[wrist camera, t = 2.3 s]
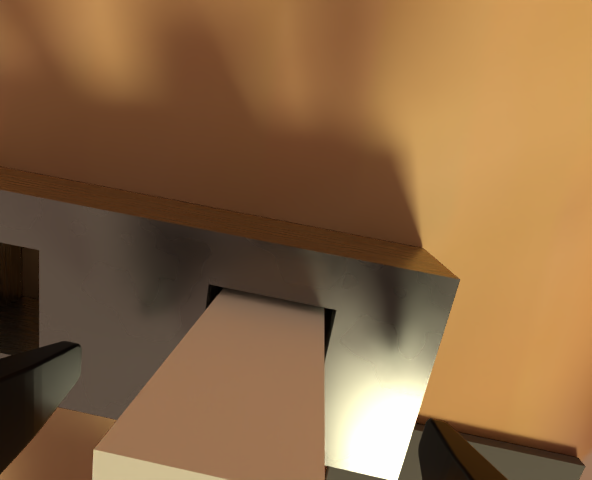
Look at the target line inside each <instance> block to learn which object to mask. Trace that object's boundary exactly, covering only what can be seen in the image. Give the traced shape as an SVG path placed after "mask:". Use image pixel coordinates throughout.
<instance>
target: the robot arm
mask: <svg viewBox="0 0 592 480" xmlns="http://www.w3.org/2000/svg"><path fill="white" fill-rule="evenodd" d="M81 357H82V348H81V345H80V344H78V343H74V342H69V341H61V342H57V343H54V344H50V345H47V346H43V347H39V348H36V349H32V350H29V351H25V352H21V353H18V354H14V355H11V356H7V357H4V358H0V474H1V473H2V472H3V471H4V470H5V469H6V468H7V466H8V465H9V464H10V463H11V462H12V461H13V460H14V459H15V458H16V457H17V455H18V454H19V453H20V452H21V451H22V450H23V449H24V448H25V447H26V446H27V444H28V443H29V442H30V441H31V440H32V439H33V438H34V436H35V435H36V434H37V433H38V431H39V430H40V429H41V428H42V427H43V425H44V424H45V423H46V421H47V420H48V419H49V417H50V416H51V415H52V413H53V412H54V411H55V410H56V408H57V407H58V406H59V404H60V403H61V402H62V400H63V399H64V398H65V397H66V395H67V394H68V393H69V391H70V390H71V389H72V387H73V386H74V385H75V383H76V382H77V381H78V379H79V377H80V373H81ZM418 457H419V463H420V469H421V476H422V480H508V479H507V478H506V477H505V476H504V475H503V474H502V473H501V472H499V471H498V470H497V469H496V468H495V467H494V466H493V465H492V464H491V463H490V462H489V461H488V460H487V459H486V458H484V457H483V456H482V455H481V454H480V453H479V452H478V451H477V450H476V449H475V448H474V447H473V446H472V445H470V444H469V443H468V442H467V441H466V440H465V439H464V438H463V437H462V436H461V435H460V434H459V433H458V432H457V431H455V430H454V429H453V428H452V427H451V426H450V425H449V424H448V423H447V422H445V421H442V420H437V419H432V418H430V419H428V420H427V421H426V424H425V427H424V430H423V433H422V436H421V439H420V442H419V446H418Z"/></svg>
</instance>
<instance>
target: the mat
mask: <svg viewBox="0 0 592 480" xmlns="http://www.w3.org/2000/svg"><path fill="white" fill-rule="evenodd" d="M424 427H425V425H421V424H416V423H415V425H414V428H413V432H412V435H411V438H410V441H409V444H408V448H407V451H406V454H405V457H404V460H403V464H402V467H401V470H400V473H399V476H398V480H422V476H421V469H420V463H419V457H418V446H419V442H420V439H421V436H422V433H423V430H424ZM458 433H459V432H458ZM459 434H460V435H461V436H462V437H463V438H464V439H465V440H466V441H467V442H468V443H469V444H470V445H472V446H473V447H474V448H475V449H476V450H477V451H478V452H479V453H480V454H481V455H482V456H483V457H484V458H486V459H487V460H488V461H489V462H490V463H491V464H492V465H493V466H494V467H495V468H496V469H497V470H498V471H499V472H501V473H502V474H503V475H504V476H505V477H506V478H507V479H508V480H579V479H580V476H581V474H582V472H583V470H584V468H585V465H584V464H583V463H582V462H581V461H580V459H579V458H577V457H572V456H567V455H562V454H558V453H553V452H548V451H544V450H539V449H534V448H529V447H525V446H520V445H515V444H511V443H506V442H501V441H496V440H492V439H487V438H482V437H478V436H473V435H468V434H463V433H459ZM325 480H389V479H385V478H380V477H375V476H371V475H366V474H362V473H357V472H353V471H348V470H344V469H339V468H334V467H330V466H327V470H326V474H325Z"/></svg>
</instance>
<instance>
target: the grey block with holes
mask: <svg viewBox="0 0 592 480" xmlns="http://www.w3.org/2000/svg"><path fill="white" fill-rule="evenodd" d="M21 247H26V248H31V249H36V250H39V300H36V299H31V298H26V297H22V262H21ZM459 282H460V279H459V278H458V277H457V276H455V275H454V274H453V273H452V272H451V271H450V270H448V269H447V268H446V267H445V266H444V265H443V264H441V263H440V262H439V261H438V260H437V259H435V258H434V257H433V256H432V255H431V254H430V253H428V252H427V251H426V250H425V249H424V248H420V247H415V246H410V245H405V244H399V243H394V242H389V241H384V240H379V239H373V238H368V237H363V236H358V235H353V234H347V233H342V232H337V231H332V230H327V229H321V228H316V227H311V226H306V225H301V224H295V223H290V222H285V221H280V220H275V219H269V218H264V217H259V216H254V215H249V214H244V213H238V212H233V211H228V210H223V209H218V208H212V207H207V206H202V205H197V204H192V203H186V202H181V201H176V200H171V199H166V198H160V197H155V196H150V195H145V194H140V193H134V192H129V191H124V190H119V189H114V188H109V187H103V186H98V185H93V184H88V183H83V182H77V181H72V180H67V179H62V178H57V177H51V176H46V175H41V174H36V173H31V172H25V171H20V170H15V169H10V168H5V167H0V358H4V357H7V356H11V355H14V354H18V353H21V352H25V351H29V350H32V349H36V348H39V347H43V346H47V345H50V344H54V343H57V342H61V341H69V342H74V343H78V344H80V345H81V348H82V357H81V373H80V377H79V379H78V381H77V382H76V383H75V385H74V386H73V387H72V389H71V390H70V391H69V393H68V394H67V395H66V397H65V398H64V399H63V400H62V402H61V403H60V404H59V406H58V407H60V408H65V409H69V410H74V411H79V412H83V413H88V414H92V415H97V416H101V417H106V418H111V419H115V420H118V418H119V417H120V416H121V415H122V413H123V412H124V411H125V410H126V408H127V407H128V406H129V405H130V403H131V402H132V401H133V400H134V399H135V397H136V396H137V395H138V394H139V392H140V391H141V390H142V389H143V387H144V386H145V385H146V384H147V382H148V381H149V380H150V379H151V377H152V376H153V375H154V374H155V372H156V371H157V370H158V369H159V367H160V366H161V365H162V364H163V362H164V361H165V360H166V359H167V357H168V356H169V355H170V354H171V353H172V351H173V350H174V349H175V348H176V346H177V345H178V344H179V343H180V341H181V340H182V339H183V338H184V336H185V335H186V334H187V333H188V331H189V330H190V329H191V328H192V326H193V325H194V324H195V323H196V321H197V320H198V319H199V318H200V316H201V315H202V314H203V313H204V312H205V310H206V309H207V308H208V307H209V305H210V304H211V303H212V302H213V300H214V299H215V298H216V297H217V295H218V294H219V293H220V292H221V290H222V289H223V288H229V289H234V290H239V291H244V292H249V293H254V294H259V295H264V296H269V297H274V298H279V299H284V300H289V301H294V302H299V303H304V304H309V305H314V306H319V307H324V308H325V312H324V398H325V466H330V467H334V468H339V469H344V470H348V471H353V472H357V473H362V474H366V475H371V476H375V477H380V478H385V479H389V480H398V476H399V473H400V470H401V467H402V464H403V460H404V457H405V454H406V451H407V448H408V444H409V441H410V438H411V435H412V432H413V428H414V425H415V422H416V419H417V416H418V412H419V409H420V406H421V403H422V400H423V396H424V393H425V390H426V387H427V384H428V381H429V377H430V374H431V371H432V368H433V365H434V361H435V358H436V355H437V352H438V349H439V345H440V342H441V339H442V336H443V333H444V329H445V326H446V323H447V320H448V317H449V313H450V310H451V307H452V304H453V301H454V297H455V294H456V291H457V288H458V285H459Z"/></svg>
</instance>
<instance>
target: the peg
mask: <svg viewBox="0 0 592 480" xmlns="http://www.w3.org/2000/svg"><path fill="white" fill-rule="evenodd" d="M92 480H325V398H324V307H319V306H314V305H309V304H304V303H299V302H294V301H289V300H284V299H279V298H274V297H269V296H264V295H259V294H254V293H249V292H244V291H239V290H234V289H229V288H223V289H222V290H221V292H220V293H219V294H218V295H217V297H216V298H215V299H214V300H213V302H212V303H211V304H210V305H209V307H208V308H207V309H206V310H205V312H204V313H203V314H202V315H201V316H200V318H199V319H198V320H197V321H196V323H195V324H194V325H193V326H192V328H191V329H190V330H189V331H188V333H187V334H186V335H185V336H184V338H183V339H182V340H181V341H180V343H179V344H178V345H177V346H176V348H175V349H174V350H173V351H172V353H171V354H170V355H169V356H168V357H167V359H166V360H165V361H164V362H163V364H162V365H161V366H160V367H159V369H158V370H157V371H156V372H155V374H154V375H153V376H152V377H151V379H150V380H149V381H148V382H147V384H146V385H145V386H144V387H143V389H142V390H141V391H140V392H139V394H138V395H137V396H136V397H135V399H134V400H133V401H132V402H131V403H130V405H129V406H128V407H127V408H126V410H125V411H124V412H123V413H122V415H121V416H120V417H119V418H118V420H117V421H116V422H115V423H114V425H113V426H112V427H111V428H110V430H109V431H108V432H107V433H106V435H105V436H104V437H103V438H102V440H101V441H100V442H99V443H98V444H97V446H96V447H95V448H94V449H93V471H92Z"/></svg>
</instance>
